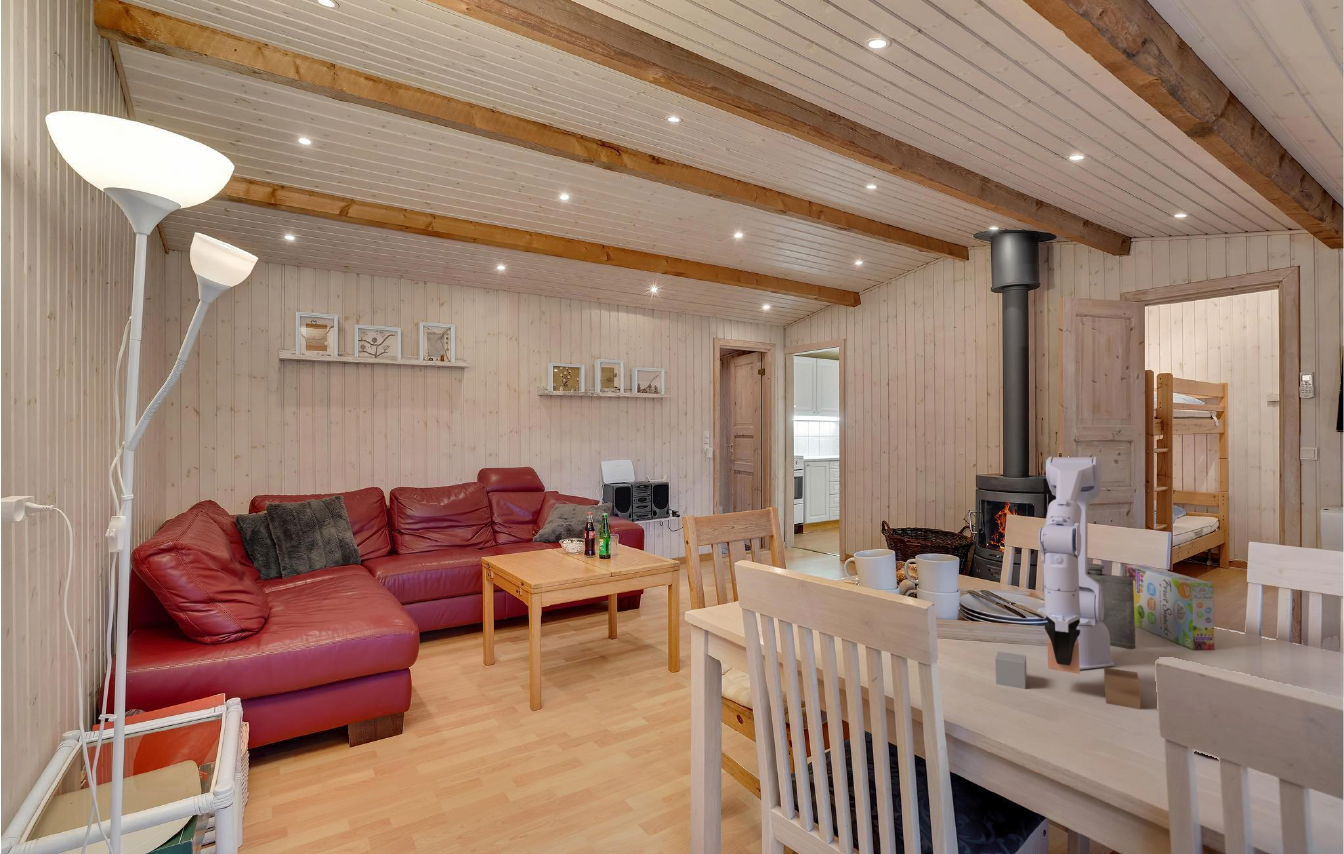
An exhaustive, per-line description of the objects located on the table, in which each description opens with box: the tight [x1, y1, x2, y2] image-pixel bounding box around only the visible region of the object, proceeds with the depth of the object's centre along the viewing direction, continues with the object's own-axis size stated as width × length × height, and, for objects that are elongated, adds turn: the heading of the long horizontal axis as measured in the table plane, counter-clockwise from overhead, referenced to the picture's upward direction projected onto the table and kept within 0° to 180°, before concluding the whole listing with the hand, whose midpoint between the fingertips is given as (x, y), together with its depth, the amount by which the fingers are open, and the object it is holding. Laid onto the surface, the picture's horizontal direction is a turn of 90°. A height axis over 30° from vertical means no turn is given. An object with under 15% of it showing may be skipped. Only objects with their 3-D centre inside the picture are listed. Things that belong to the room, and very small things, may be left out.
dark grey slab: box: [1079, 563, 1136, 650], centre depth 146 cm, size 4×14×18 cm, turn 36°
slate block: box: [994, 651, 1028, 690], centre depth 123 cm, size 5×5×5 cm
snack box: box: [1124, 564, 1215, 651], centre depth 149 cm, size 21×6×15 cm, turn 179°
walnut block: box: [1103, 667, 1141, 710], centre depth 113 cm, size 5×5×5 cm
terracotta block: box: [1047, 634, 1081, 675], centre depth 118 cm, size 5×5×5 cm
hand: (1063, 659), depth 118 cm, fingers closed on terracotta block, 5 cm apart
